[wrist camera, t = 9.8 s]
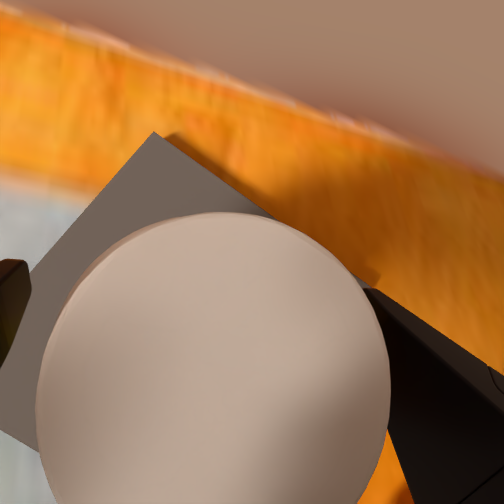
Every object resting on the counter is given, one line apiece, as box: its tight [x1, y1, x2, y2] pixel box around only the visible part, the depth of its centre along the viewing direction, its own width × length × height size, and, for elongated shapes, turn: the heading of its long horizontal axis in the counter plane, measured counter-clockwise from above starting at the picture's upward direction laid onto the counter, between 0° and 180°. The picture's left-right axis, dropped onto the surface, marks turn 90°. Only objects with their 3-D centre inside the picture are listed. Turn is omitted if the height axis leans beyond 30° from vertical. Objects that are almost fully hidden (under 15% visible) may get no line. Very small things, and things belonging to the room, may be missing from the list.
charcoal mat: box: [0, 132, 372, 452], centre depth 17 cm, size 15×15×1 cm
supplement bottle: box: [35, 212, 391, 504], centre depth 11 cm, size 7×7×13 cm
